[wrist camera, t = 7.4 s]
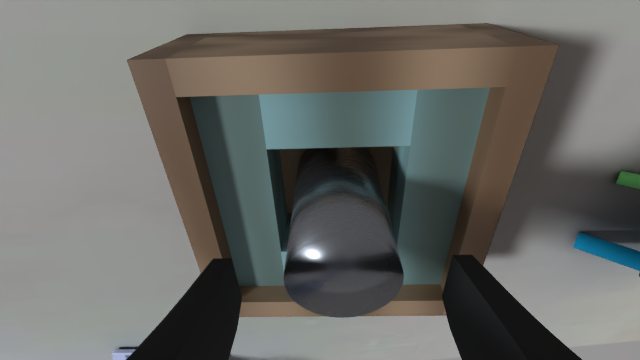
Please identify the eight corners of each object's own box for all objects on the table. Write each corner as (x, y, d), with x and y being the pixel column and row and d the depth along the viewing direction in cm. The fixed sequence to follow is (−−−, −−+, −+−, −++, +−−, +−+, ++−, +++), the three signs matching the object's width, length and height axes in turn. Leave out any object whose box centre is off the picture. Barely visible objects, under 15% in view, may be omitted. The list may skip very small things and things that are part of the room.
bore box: (238, 248, 21) (216, 317, 17) (186, 34, 14) (126, 59, 10) (437, 245, 21) (466, 315, 16) (487, 23, 14) (559, 45, 9)
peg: (302, 204, 18) (291, 319, 12) (293, 139, 16) (274, 240, 10) (374, 200, 18) (400, 315, 12) (375, 134, 15) (408, 233, 9)
